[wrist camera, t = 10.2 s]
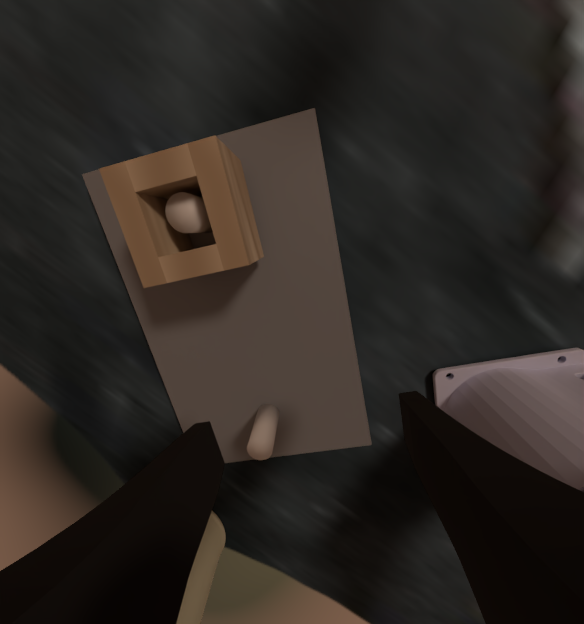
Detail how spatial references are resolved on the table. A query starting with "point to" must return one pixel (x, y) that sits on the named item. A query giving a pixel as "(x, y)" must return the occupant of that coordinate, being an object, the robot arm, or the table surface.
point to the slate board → (257, 308)
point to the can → (202, 572)
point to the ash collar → (194, 180)
